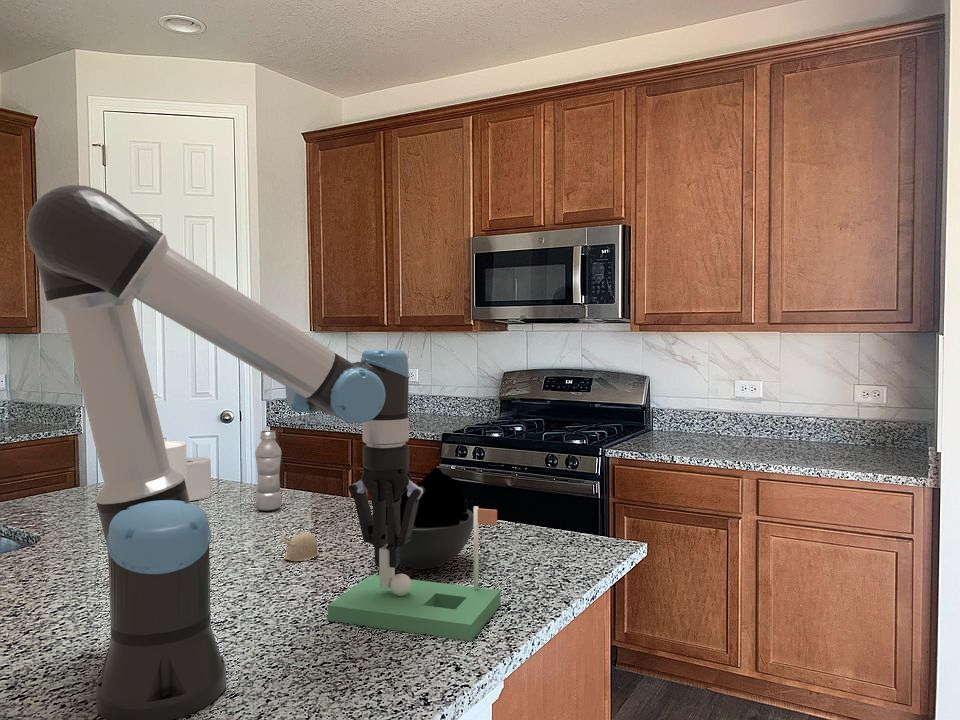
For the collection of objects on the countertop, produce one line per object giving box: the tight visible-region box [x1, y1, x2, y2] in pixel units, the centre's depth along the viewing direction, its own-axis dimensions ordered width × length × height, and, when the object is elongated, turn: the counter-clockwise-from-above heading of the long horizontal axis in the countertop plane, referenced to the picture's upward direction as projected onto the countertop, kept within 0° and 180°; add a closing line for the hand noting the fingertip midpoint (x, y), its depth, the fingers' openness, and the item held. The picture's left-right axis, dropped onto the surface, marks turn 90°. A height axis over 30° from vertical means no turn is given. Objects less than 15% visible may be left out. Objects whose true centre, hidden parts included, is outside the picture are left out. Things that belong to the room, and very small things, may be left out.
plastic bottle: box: [254, 429, 283, 512], centre depth 186 cm, size 6×7×20 cm
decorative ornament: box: [280, 532, 320, 562], centre depth 147 cm, size 4×8×5 cm, turn 127°
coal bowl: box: [371, 467, 474, 570], centre depth 142 cm, size 20×20×19 cm
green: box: [327, 505, 502, 642], centre depth 120 cm, size 15×24×16 cm, turn 72°
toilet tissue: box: [186, 456, 212, 502], centre depth 200 cm, size 11×12×10 cm
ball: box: [390, 573, 412, 596], centre depth 121 cm, size 4×4×4 cm
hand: (387, 585), depth 122 cm, fingers closed
